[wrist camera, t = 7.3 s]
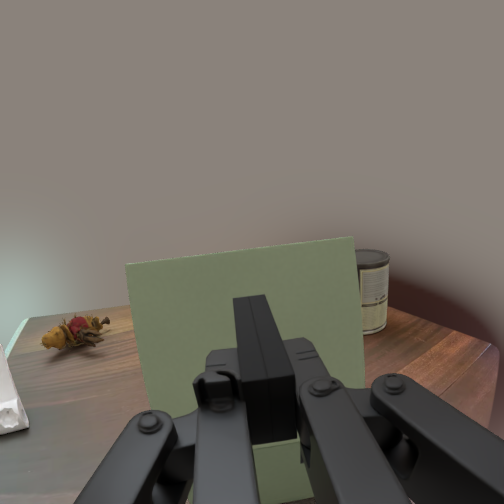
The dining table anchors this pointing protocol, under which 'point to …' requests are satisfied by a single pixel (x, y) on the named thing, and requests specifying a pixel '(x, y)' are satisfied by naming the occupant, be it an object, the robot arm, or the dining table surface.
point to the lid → (222, 313)
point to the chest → (279, 474)
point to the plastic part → (10, 401)
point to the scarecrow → (75, 332)
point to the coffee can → (373, 288)
